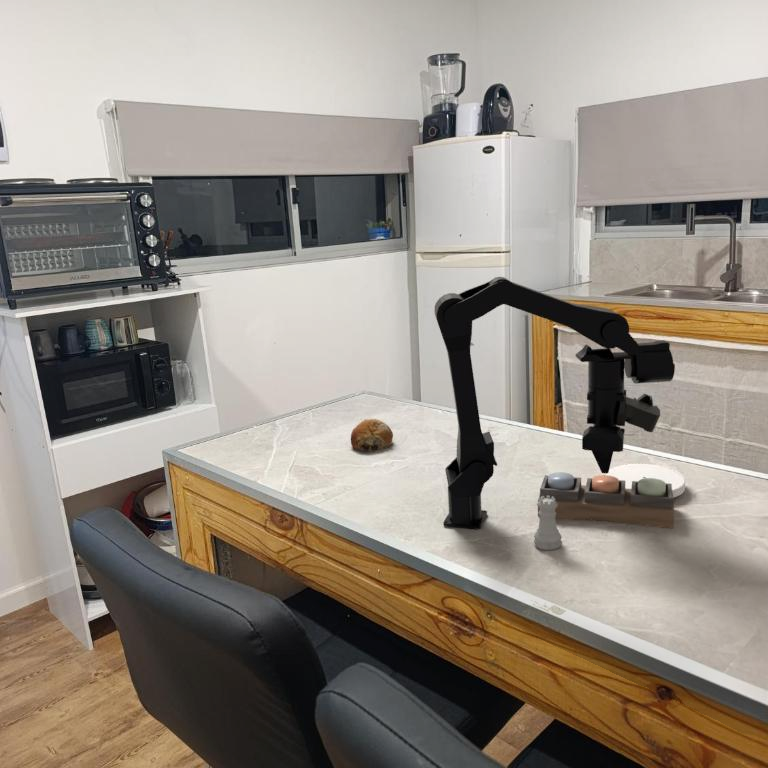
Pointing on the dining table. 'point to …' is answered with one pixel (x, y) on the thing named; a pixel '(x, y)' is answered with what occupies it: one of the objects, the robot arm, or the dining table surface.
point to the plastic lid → (649, 475)
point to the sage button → (651, 487)
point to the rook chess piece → (547, 525)
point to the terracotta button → (605, 484)
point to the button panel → (612, 504)
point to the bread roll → (371, 435)
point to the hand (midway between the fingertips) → (605, 472)
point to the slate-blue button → (561, 481)
